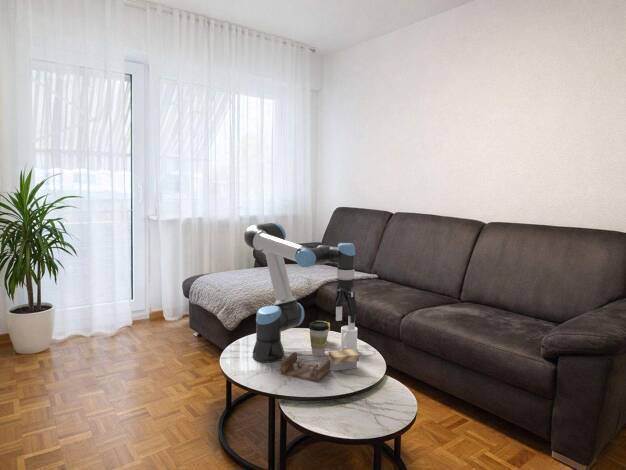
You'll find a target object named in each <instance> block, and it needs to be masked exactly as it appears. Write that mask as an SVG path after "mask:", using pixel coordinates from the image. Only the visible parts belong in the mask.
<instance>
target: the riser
mask: <svg viewBox="0 0 626 470" xmlns="http://www.w3.org/2000/svg"><path fill="white" fill-rule="evenodd" d="M357 367H358V361H355V362H348V363H341V364H333V363H332V361H331V360H330V371H332V372H335V371H343V370H350V369H355V368H356V369H357Z"/></svg>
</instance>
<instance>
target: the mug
mask: <svg viewBox="0 0 626 470" xmlns="http://www.w3.org/2000/svg"><path fill="white" fill-rule="evenodd" d="M348 349H353V350H354V351H356V352H357V353H358V327H356V326H355V330H348V325H343V326H341V328H340V349H339V351H340V350H348Z"/></svg>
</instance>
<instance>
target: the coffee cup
mask: <svg viewBox="0 0 626 470" xmlns="http://www.w3.org/2000/svg"><path fill="white" fill-rule="evenodd" d="M322 321H323V320H314V321H312V322H310V323H309V326H308V330H309V338H310V347H311V354H312V355H313V356H315V357H321V356H324V355H325V353H326V348H327V341H328V336H329V332H328V329H329V326H328V324H327V323H326V322H327V321H325V322H322Z"/></svg>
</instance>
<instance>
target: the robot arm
mask: <svg viewBox="0 0 626 470" xmlns="http://www.w3.org/2000/svg"><path fill="white" fill-rule="evenodd" d="M243 238H244V242H245V244H246V245H247V246H248V247H249V248H251V249H253V250H256V251H260V252H262V253H263V254H264V255H265V259H266V264H267V268H268V273H269V276H270V280H271V285H272V289H273V293H274V298H275V301H274V303H273V305H266V306H262V307H261V308H259V309H258V310H257V311H256V316H255V317H256V318H255V322H256V323H255V326H256V327H255V329H256V330H255V331H256V332H255V333H256V335H255V337H256V341H255V343H254V347H253V349H252V358H253V359H254V360H255V361H257V362H261V363H273V362H279V361H281V360H282V359H284V358H285V350H284V346H283V344H282V343H283V342H282V338H281V336H282V335H281V334H282V332H284V331H287V330H290V329H293V328H296V327H297V326H298V327H299V326H300V325H301V324H302V323H303V321H304V318H305V310H304V307H303V305H301V303H299V302H297V301H298V300H297V298H296V297H294V296H293V294H292V288H291V284H290V279H289V276H288V272H287V267H286V263H285V258H286V259H288V260H291V261H293V262H296V263H297V265H298V266H299V267H301V268H310V267H314V266H319V265H323V264H328V263H329V264H335V265H337V270H336V277H337V279H336V281H337V282H336V283H337V284H336V292H335V295H334V301H333V304H334V305H335V321H336V322H339V321H341V322H342V321H343V302H345V303H346V307H347V311H348V315H347V316H348V319H347V321H348V322H347V323H348V325H347V326H348V330H355V327H356V316H358V314H359V313H358V308H357V303H356V296H355V294H356V293H355V291H352V289H353V288H354V287H355V273H356V270H355V260H356V259H355V258H356V249H355V248H356V247H355V244H353V243H352V242H339V243H338V244H337V246H333V245H331V246H330V245H328V244H324V245H323V244H321V245H317V247H313V248H312V247H307V246H304V245H302V244H298V243H296V242H292V241H289V240H287V239H286V238H287V233H286V230H285V229H284V226H282V225H281V224H279V223H277V222H269V223H268V222H266V223H257V224H256V223H255V224H252V225H250V226H248V227H247V229H245V231H244V234H243Z"/></svg>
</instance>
